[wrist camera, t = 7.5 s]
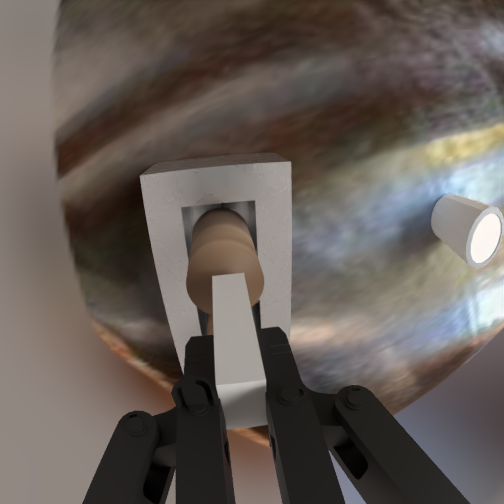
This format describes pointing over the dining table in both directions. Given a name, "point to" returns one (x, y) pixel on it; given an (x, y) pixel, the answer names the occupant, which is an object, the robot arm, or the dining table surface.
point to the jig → (220, 196)
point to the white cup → (468, 228)
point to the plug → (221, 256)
